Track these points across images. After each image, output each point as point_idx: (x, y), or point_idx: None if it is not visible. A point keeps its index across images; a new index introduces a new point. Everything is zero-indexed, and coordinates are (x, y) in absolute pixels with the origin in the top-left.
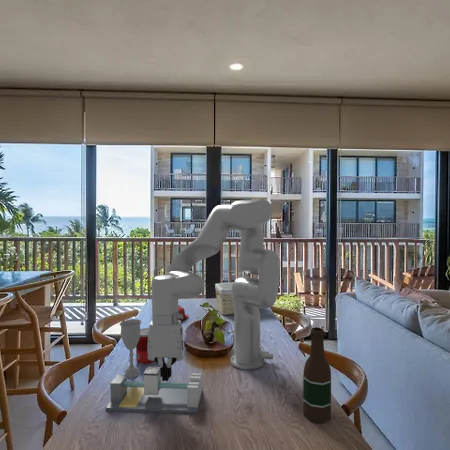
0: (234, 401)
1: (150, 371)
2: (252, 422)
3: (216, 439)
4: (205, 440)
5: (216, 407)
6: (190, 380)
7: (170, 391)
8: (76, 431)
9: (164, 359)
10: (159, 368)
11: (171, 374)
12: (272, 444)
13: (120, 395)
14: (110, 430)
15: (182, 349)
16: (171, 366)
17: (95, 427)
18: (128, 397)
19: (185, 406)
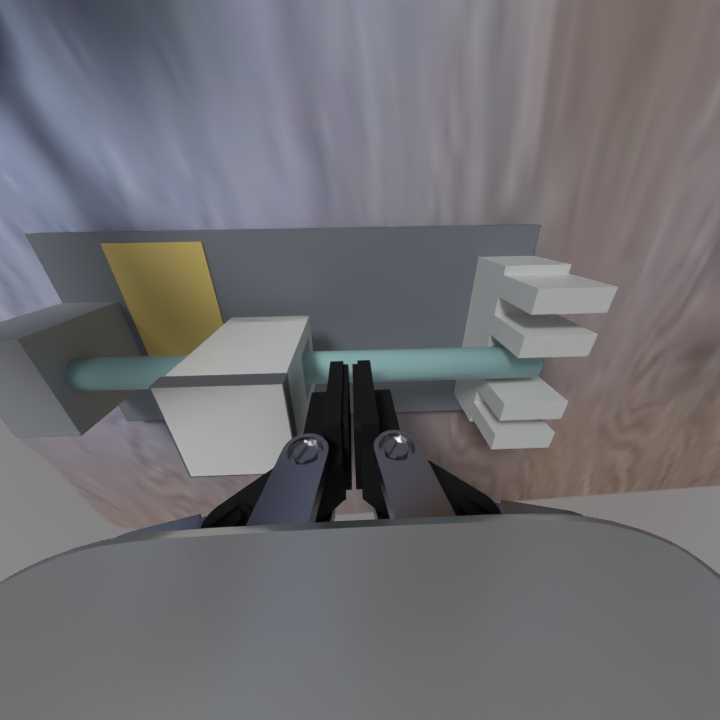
0: (660, 317)
1: (229, 453)
2: (663, 425)
3: (531, 486)
4: (502, 490)
5: (567, 363)
6: (509, 350)
7: (357, 283)
8: (134, 495)
9: (322, 478)
10: (281, 407)
11: (389, 390)
12: (667, 487)
13: (133, 392)
14: (229, 485)
15: (687, 552)
16: (399, 429)
17: (175, 480)
18: (167, 353)
19: (446, 389)
